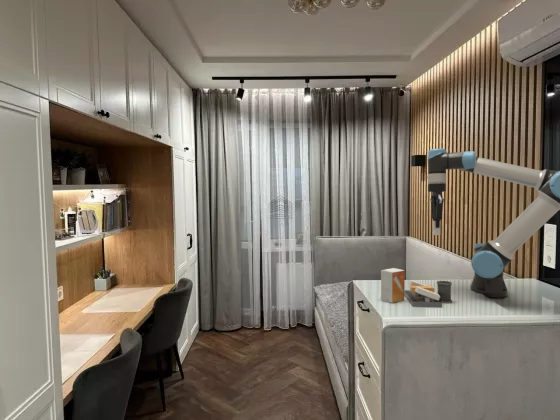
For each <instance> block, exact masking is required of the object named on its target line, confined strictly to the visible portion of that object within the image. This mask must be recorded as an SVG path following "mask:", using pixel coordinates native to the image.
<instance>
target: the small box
mask: <svg viewBox="0 0 560 420" xmlns="http://www.w3.org/2000/svg"><path fill="white" fill-rule="evenodd" d="M405 272H406V270H405V269H399V268H396V267H392V268H386V269H381V270H380V300H381V301H384V302H387V303H391V304H393V303H397V302H402V301H405V295H404V293H405V292H404V291H405V290H406V289H405V288H406V287H405V285H406V284H405V282H406V281H405V280H406V279H405V277H406V276H405V275H406V273H405Z"/></svg>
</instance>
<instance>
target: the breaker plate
mask: <svg viewBox="0 0 560 420" xmlns="http://www.w3.org/2000/svg"><path fill="white" fill-rule="evenodd" d="M404 292H405V293H404V298H406V300H407V301H408V302H409V303H410V305H411V306H412V307H413V308H415V307H416V308H418V307H419V308H443V303H442V302H441V301H440V300H439V301H438V300H435V299H433V298H430V297H427V296H424V295H422V294H419V293H417V292H411V291H410V289H409V290H406V289H405V291H404Z"/></svg>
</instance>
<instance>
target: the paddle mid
mask: <svg viewBox="0 0 560 420" xmlns="http://www.w3.org/2000/svg"><path fill="white" fill-rule="evenodd" d="M418 287H420V288H423V289H426V290H429V291H431V292H434V293H435V287H434V286H431V285H427V286H418ZM415 289H416V286H410V285H409V290H410V291H411V292H416V291H415Z"/></svg>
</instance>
